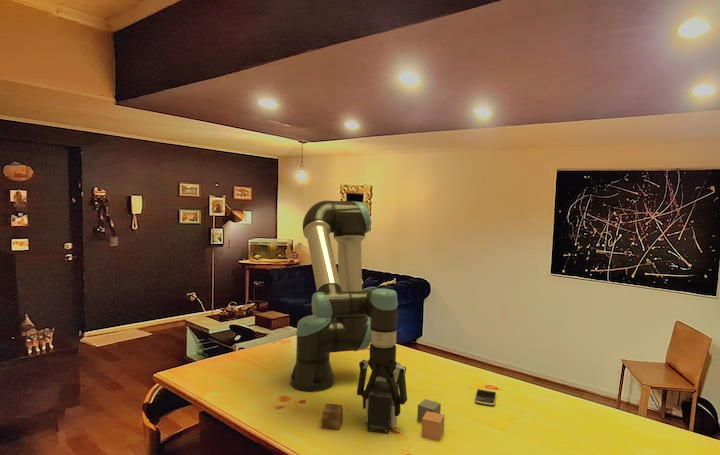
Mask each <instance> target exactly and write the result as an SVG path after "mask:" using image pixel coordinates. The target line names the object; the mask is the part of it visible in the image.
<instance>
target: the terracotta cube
mask: <svg viewBox="0 0 720 455" xmlns="http://www.w3.org/2000/svg"><path fill="white" fill-rule="evenodd" d="M444 433H445V414H442V413H440V414H438V413H434V412H429V411H427V412H426V413H425V415H424V417H423V418H422V423H421V437H423V438H426V439H430V440H434V441H438V442H440V441H441V439H442V437H443V435H444Z"/></svg>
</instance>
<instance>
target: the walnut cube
mask: <svg viewBox="0 0 720 455" xmlns="http://www.w3.org/2000/svg"><path fill="white" fill-rule="evenodd" d="M343 418H344V405H343V404H336V403H329V402H328V403H325V405H324V407H323V409H322V411H321V429H323V430H329V431H330V430H333V431H340V429H341V427H342V424H343V422H344V419H343Z"/></svg>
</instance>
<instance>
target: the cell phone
mask: <svg viewBox="0 0 720 455" xmlns="http://www.w3.org/2000/svg"><path fill="white" fill-rule="evenodd" d="M475 393H476V394H475V397H474V404H476V405H481V406H485V407H490V408H491V407H493V408H494V406H496V405H495V404H496V397H497V391H491V390H485V389H480V388H477V390H476V392H475Z"/></svg>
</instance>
